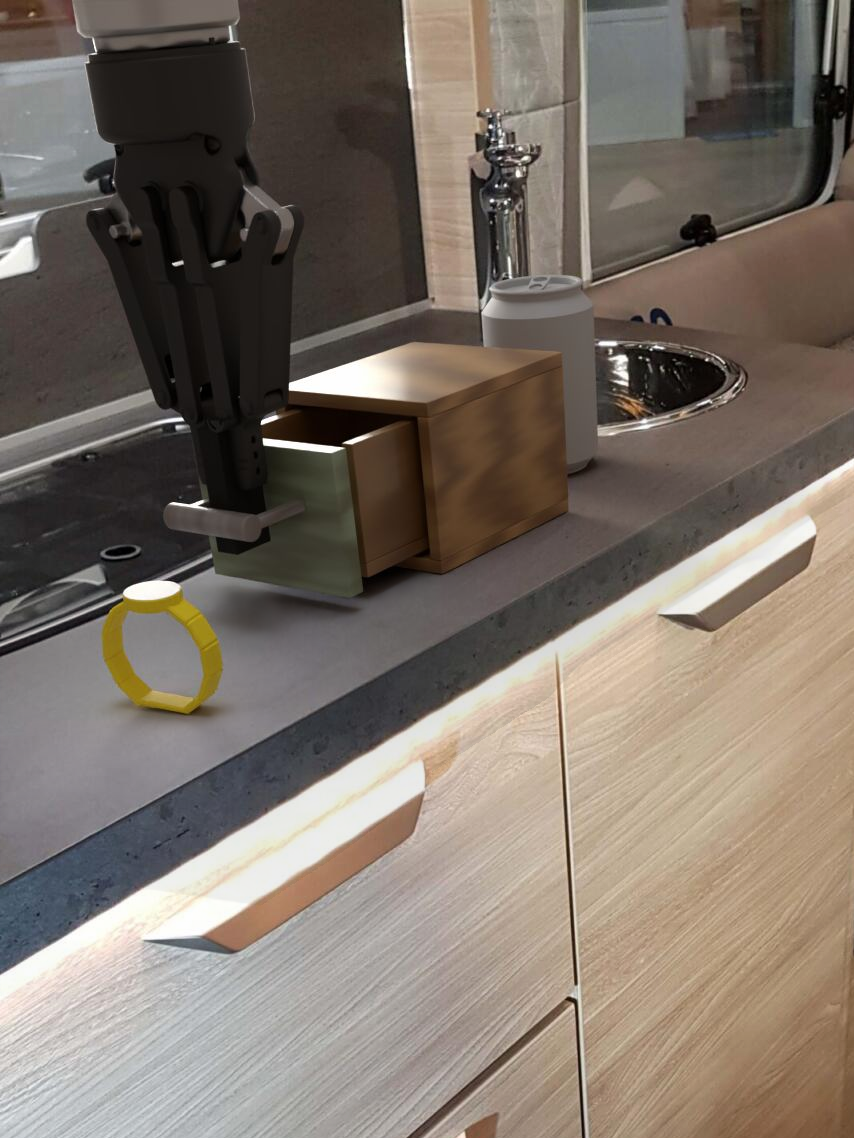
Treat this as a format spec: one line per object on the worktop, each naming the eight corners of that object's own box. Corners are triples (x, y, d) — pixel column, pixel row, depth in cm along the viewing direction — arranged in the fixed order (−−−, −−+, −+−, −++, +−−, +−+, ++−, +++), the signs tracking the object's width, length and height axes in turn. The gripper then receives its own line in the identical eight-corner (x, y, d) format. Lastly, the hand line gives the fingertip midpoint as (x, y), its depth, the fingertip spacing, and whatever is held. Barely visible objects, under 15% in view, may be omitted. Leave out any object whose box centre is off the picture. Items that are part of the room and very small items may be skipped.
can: (478, 480, 107) (464, 291, 100) (510, 451, 113) (498, 271, 106) (583, 481, 105) (576, 289, 98) (609, 452, 111) (604, 268, 104)
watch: (105, 712, 76) (78, 595, 73) (136, 691, 79) (111, 576, 75) (209, 723, 74) (187, 602, 71) (238, 701, 77) (217, 583, 73)
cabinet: (442, 574, 91) (426, 402, 85) (295, 550, 97) (271, 388, 91) (569, 510, 99) (562, 351, 94) (427, 492, 105) (413, 341, 100)
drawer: (288, 628, 82) (266, 478, 78) (152, 601, 87) (123, 459, 83) (481, 534, 94) (471, 399, 89) (350, 515, 99) (335, 386, 95)
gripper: (321, 27, 71) (378, 540, 84) (124, 40, 78) (206, 514, 91) (207, 40, 66) (287, 582, 79) (8, 53, 73) (113, 551, 86)
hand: (244, 545), depth 85 cm, fingers closed
